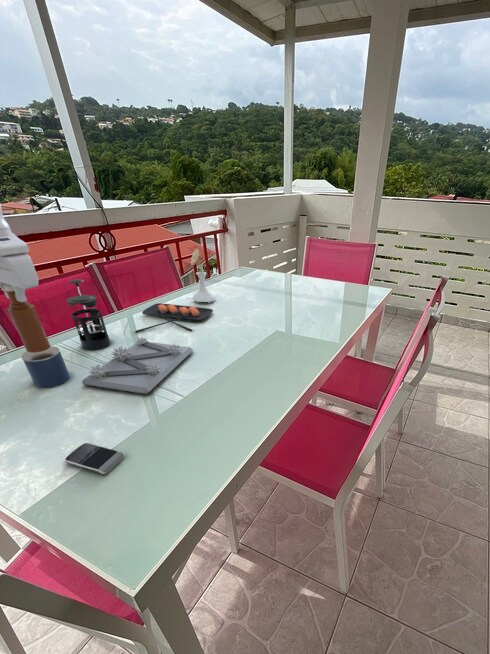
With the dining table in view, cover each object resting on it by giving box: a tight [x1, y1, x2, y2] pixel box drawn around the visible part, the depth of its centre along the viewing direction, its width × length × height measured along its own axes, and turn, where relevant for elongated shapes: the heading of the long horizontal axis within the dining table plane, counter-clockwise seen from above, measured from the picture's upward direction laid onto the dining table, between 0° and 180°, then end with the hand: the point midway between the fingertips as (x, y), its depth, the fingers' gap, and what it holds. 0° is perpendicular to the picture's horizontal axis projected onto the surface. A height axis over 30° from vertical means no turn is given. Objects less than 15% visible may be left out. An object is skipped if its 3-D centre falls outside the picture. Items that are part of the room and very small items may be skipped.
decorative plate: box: [81, 337, 194, 395], centre depth 106 cm, size 30×22×7 cm
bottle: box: [3, 284, 51, 353], centre depth 89 cm, size 6×6×18 cm
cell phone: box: [63, 442, 124, 475], centre depth 73 cm, size 6×11×1 cm, turn 73°
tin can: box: [20, 345, 71, 389], centre depth 97 cm, size 9×9×9 cm
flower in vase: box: [190, 248, 217, 304], centre depth 158 cm, size 13×11×25 cm
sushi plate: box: [135, 303, 214, 333], centre depth 141 cm, size 29×30×4 cm
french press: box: [66, 278, 112, 351], centre depth 114 cm, size 12×9×23 cm
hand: (17, 299), depth 86 cm, fingers closed on bottle, 3 cm apart
